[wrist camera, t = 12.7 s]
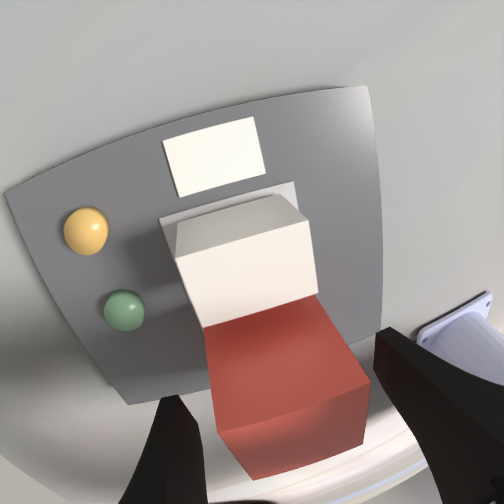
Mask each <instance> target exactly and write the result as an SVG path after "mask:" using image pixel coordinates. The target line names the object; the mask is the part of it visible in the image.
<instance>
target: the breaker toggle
mask: <svg viewBox="0 0 504 504" xmlns="http://www.w3.org/2000/svg"><path fill="white" fill-rule="evenodd" d="M175 260H176V262H177V265H178V267H179V270H180V273H181V275H182V278H183V280H184V283H185V286H186V288H187V291H188V293H189V296H190V298H191V301H192V303H193V305H194V308H195V310H196V313H197V315H198V318H199V320H200V322H201V325H202V327H203V328H204V327H208V326H211V325H215V324H218V323H222V322H225V321H229V320H232V319H236V318H239V317H243V316H246V315H249V314H253V313H256V312H259V311H263V310H266V309H269V308H272V307H276V306H279V305H282V304H285V303H288V302H292V301H295V300H298V299H301V298H304V297H307V296H310V295H313V294H316V293H318V285H317V277H316V270H315V262H314V255H313V248H312V241H311V234H310V227H309V221H308V219H307V218H306V217H305V216H304V215H303V214H302V213H300V212H299V211H298V210H297V209H296V208H295V207H294V206H293V205H292V204H291V203H290V202H289V201H288V200H287V199H285V198H284V197H283V196H282V195H281V194H277V195H273V196H269V197H265V198H262V199H258V200H254V201H251V202H247V203H243V204H240V205H236V206H233V207H229V208H226V209H222V210H219V211H215V212H212V213H208V214H205V215H201V216H198V217H195V218H191V219H188V220H185V221H181V222H178V224H177V237H176V252H175Z"/></svg>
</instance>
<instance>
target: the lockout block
mask: <svg viewBox="0 0 504 504" xmlns="http://www.w3.org/2000/svg"><path fill="white" fill-rule="evenodd" d="M203 329H204V338H205V346H206V355H207V363H208V371H209V378H210V386H211V393H212V400H213V407H214V413H215V420H216V426H217V433H218V434H219V436H220V437H221V438H222V440H223V441H224V443H225V444H226V445H227V447H228V448H229V450H230V451H231V452H232V454H233V455H234V456H235V458H236V459H237V460H238V462H239V463H240V464H241V466H242V467H243V468H244V470H245V471H246V472H247V473H248V475H249V476H250V477H251V478H252V480H257V479H262V478H265V477H269V476H273V475H277V474H280V473H284V472H287V471H291V470H294V469H297V468H300V467H304V466H307V465H310V464H313V463H316V462H318V461H321V460H324V459H327V458H330V457H332V456H335V455H337V454H340V453H343V452H345V451H348V450H350V449H352V448H355V447H357V446H360V445H362V444H363V439H364V433H365V426H366V420H367V412H368V404H369V396H370V387H371V381H370V380H369V378H368V377H367V375H366V373H365V372H364V370H363V369H362V367H361V366H360V364H359V362H358V361H357V359H356V358H355V356H354V354H353V353H352V351H351V350H350V348H349V347H348V345H347V344H346V342H345V340H344V339H343V337H342V336H341V334H340V333H339V331H338V330H337V328H336V326H335V325H334V323H333V322H332V320H331V319H330V317H329V316H328V314H327V313H326V311H325V310H324V308H323V307H322V305H321V303H320V302H319V300H318V299H317V297H316V296H315V294H313V295H310V296H307V297H304V298H301V299H298V300H295V301H292V302H288V303H285V304H282V305H279V306H276V307H272V308H269V309H266V310H263V311H259V312H256V313H253V314H249V315H246V316H243V317H239V318H236V319H232V320H229V321H225V322H222V323H218V324H215V325H211V326H208V327H204V328H203Z"/></svg>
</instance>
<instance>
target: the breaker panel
mask: <svg viewBox="0 0 504 504" xmlns="http://www.w3.org/2000/svg"><path fill="white" fill-rule="evenodd" d="M277 194H281V195H282V196H283V197H284V198H285V199H287V200H288V201H289V202H290V203H291V204H292V205H293V206H294V207H295V208H296V209H297V210H298V211H299V212H300V213H302V214H303V215H304V216H305V217H306V218H307V219H308V221H309V227H310V234H311V241H312V248H313V255H314V262H315V270H316V277H317V285H318V293H316V294H315V296H316V297H317V299H318V300H319V302H320V303H321V305H322V307H323V308H324V310H325V311H326V313H327V314H328V316H329V317H330V319H331V320H332V322H333V323H334V325H335V326H336V328H337V330H338V331H339V333H340V334H341V336H342V337H343V339H344V340H345V342H346V344H347V345H349V344H352V343H354V342H357V341H359V340H362V339H364V338H367V337H369V336H372V335H374V334H376V332H379V331H380V328H381V311H382V282H383V238H382V210H381V193H380V179H379V168H378V157H377V148H376V140H375V132H374V124H373V117H372V110H371V104H370V98H369V92H368V86H353V87H342V88H333V89H325V90H317V91H309V92H303V93H296V94H290V95H284V96H278V97H273V98H267V99H262V100H257V101H252V102H248V103H243V104H238V105H234V106H230V107H225V108H221V109H217V110H213V111H209V112H206V113H202V114H198V115H195V116H191V117H187V118H184V119H180V120H177V121H174V122H171V123H167V124H164V125H161V126H158V127H155V128H152V129H149V130H146V131H143V132H140V133H137V134H134V135H131V136H129V137H126V138H123V139H120V140H118V141H115V142H112V143H110V144H107V145H105V146H102V147H100V148H97V149H95V150H92V151H90V152H88V153H85V154H83V155H81V156H78V157H76V158H74V159H71V160H69V161H67V162H65V163H63V164H60V165H58V166H56V167H54V168H52V169H50V170H48V171H46V172H44V173H42V174H40V175H38V176H36V177H34V178H32V179H30V180H28V181H26V182H24V183H22V184H20V185H19V186H17V187H15V188H13V189H11V190H10V191H8V192H6V193H5V195H6V198H7V201H8V203H9V206H10V209H11V211H12V214H13V216H14V219H15V221H16V224H17V226H18V228H19V231H20V233H21V235H22V237H23V240H24V242H25V244H26V246H27V248H28V251H29V253H30V255H31V257H32V259H33V261H34V263H35V265H36V267H37V269H38V271H39V273H40V275H41V277H42V279H43V280H44V282H45V284H46V286H47V288H48V290H49V291H50V293H51V295H52V297H53V299H54V300H55V302H56V304H57V305H58V307H59V309H60V310H61V312H62V314H63V315H64V317H65V319H66V320H67V322H68V324H69V325H70V327H71V328H72V330H73V331H74V333H75V334H76V336H77V338H78V339H79V341H80V342H81V344H82V345H83V346H84V348H85V349H86V351H87V352H88V354H89V355H90V357H91V358H92V359H93V361H94V362H95V364H96V365H97V366H98V368H99V369H100V370H101V372H102V373H103V374H104V376H105V377H106V378H107V380H108V381H109V382H110V383H111V385H112V386H113V387H114V389H115V390H116V391H117V392H118V394H119V395H120V396H121V397H122V398H123V400H124V401H125V402H126V403H127V404H128V405H132V404H138V403H144V402H149V401H155V400H160V399H161V398H162V397H167V396H172V395H177V394H178V396H180V395H184V394H189V393H193V392H198V391H202V390H206V389H210V388H211V386H210V378H209V371H208V363H207V355H206V346H205V338H204V329H203V327H202V325H201V322H200V320H199V318H198V315H197V313H196V310H195V308H194V305H193V303H192V301H191V298H190V296H189V293H188V291H187V288H186V286H185V283H184V280H183V278H182V275H181V273H180V270H179V267H178V265H177V262H176V260H175V252H176V237H177V224H178V222H181V221H185V220H188V219H191V218H195V217H198V216H201V215H205V214H208V213H212V212H215V211H219V210H222V209H226V208H229V207H233V206H236V205H240V204H243V203H247V202H251V201H254V200H258V199H262V198H265V197H269V196H273V195H277Z"/></svg>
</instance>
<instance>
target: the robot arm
mask: <svg viewBox="0 0 504 504" xmlns="http://www.w3.org/2000/svg"><path fill="white" fill-rule="evenodd" d="M492 297H493V294H492V293H491V292H490V291H489V292H486V293H485V294H483V295H482V296H480V297H478V298H477V299H475V300H473V301H471V302H470V303H468V304H466V305H465V306H463V307H461V308H459V309H458V310H456V311H454V312H452V313H450V314H448V315H447V316H445V317H443V318H441V319H439V320H437V321H435V322H433V323H431V324H429V325H428V326H426V327H424V328H422V329H421V330H420V331H419V333H418V337H417V342H416V343H415V342H413V341H412V340H410V339H409V338H407V337H406V336H404V335H402V334H401V333H399V332H398V331H396V330H395V329H393V328H391V327H388V328H386V329H384V330H381V331H379V332H376V338H375V352H374V364H373V369H374V371H375V373H376V375H377V377H378V379H379V381H380V383H381V385H382V387H383V389H384V391H385V392H386V394H387V395H388V397H389V398H390V400H391V401H392V403H393V404H394V406H395V407H396V409H397V410H398V412H399V413H400V415H401V416H402V418H403V419H404V421H405V422H406V424H407V425H408V427H409V428H410V430H411V431H412V433H413V435H414V436H415V438H416V440H417V442H418V444H419V446H420V448H421V450H422V452H423V454H424V456H425V458H426V461H427V463H428V465H429V467H430V470H431V472H432V475H433V477H434V480H435V482H436V485H437V488H438V490H439V493H440V497H441V500H442V503H443V504H504V335H503V334H502V333H501V332H500V331H499V330H498V329H497V328H495V327H494V326H493V325H492V324H491V323H490V322H489V321H488V320H487V319H486V318H487V315H488V311H489V308H490V304H491V301H492ZM118 504H208V500H207V491H206V481H205V469H204V457H203V447H202V442H201V436H200V432H199V427H198V423H197V422H196V420H195V419H194V417H193V416H192V415H191V413H190V412H189V410H188V409H187V407H186V406H185V405H184V403H183V402H182V400H181V399H180V397H179V396H178V394H177V395H172V396H167V397H162V398H161V399H160V402H159V405H158V408H157V411H156V415H155V418H154V421H153V424H152V427H151V430H150V433H149V436H148V439H147V441H146V444H145V447H144V450H143V452H142V455H141V457H140V460H139V462H138V465H137V467H136V469H135V472H134V474H133V476H132V478H131V480H130V483H129V485H128V487H127V489H126V491H125V492H124V494H123V496H122V498H121V500H120V501H119V503H118Z"/></svg>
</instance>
